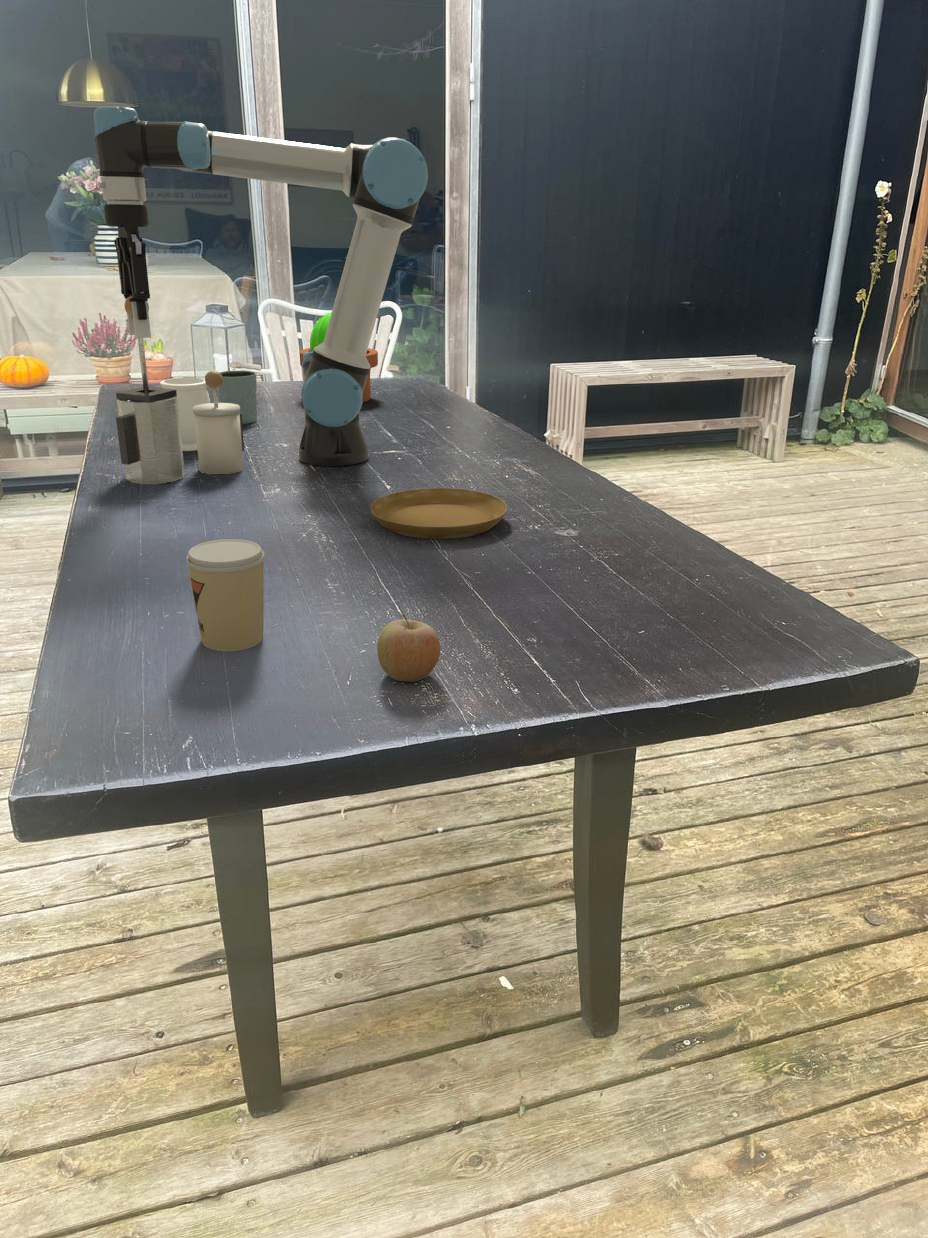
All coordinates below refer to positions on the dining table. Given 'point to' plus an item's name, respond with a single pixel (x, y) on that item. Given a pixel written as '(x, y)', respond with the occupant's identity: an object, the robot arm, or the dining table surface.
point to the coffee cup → (228, 593)
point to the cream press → (218, 432)
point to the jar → (188, 406)
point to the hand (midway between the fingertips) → (140, 335)
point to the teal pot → (240, 392)
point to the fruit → (408, 649)
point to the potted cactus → (318, 338)
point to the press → (150, 435)
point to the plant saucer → (438, 512)
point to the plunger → (141, 349)
